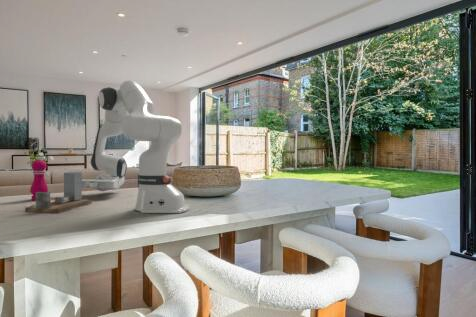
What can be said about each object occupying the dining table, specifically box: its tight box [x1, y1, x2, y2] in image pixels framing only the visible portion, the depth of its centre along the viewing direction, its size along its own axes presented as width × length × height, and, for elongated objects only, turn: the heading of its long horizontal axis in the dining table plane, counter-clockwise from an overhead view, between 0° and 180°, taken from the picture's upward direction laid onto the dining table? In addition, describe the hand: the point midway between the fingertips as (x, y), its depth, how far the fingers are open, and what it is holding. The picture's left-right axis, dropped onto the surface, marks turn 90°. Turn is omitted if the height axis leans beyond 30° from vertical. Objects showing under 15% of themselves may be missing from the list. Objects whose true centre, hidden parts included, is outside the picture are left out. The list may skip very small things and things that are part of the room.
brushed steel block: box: [63, 171, 83, 203], centre depth 143 cm, size 5×10×12 cm, turn 172°
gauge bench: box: [24, 191, 93, 214], centre depth 137 cm, size 14×22×8 cm, turn 172°
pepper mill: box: [29, 156, 49, 201], centre depth 155 cm, size 7×7×20 cm
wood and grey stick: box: [50, 196, 64, 204], centre depth 137 cm, size 9×2×2 cm, turn 82°
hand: (87, 185), depth 156 cm, fingers closed
